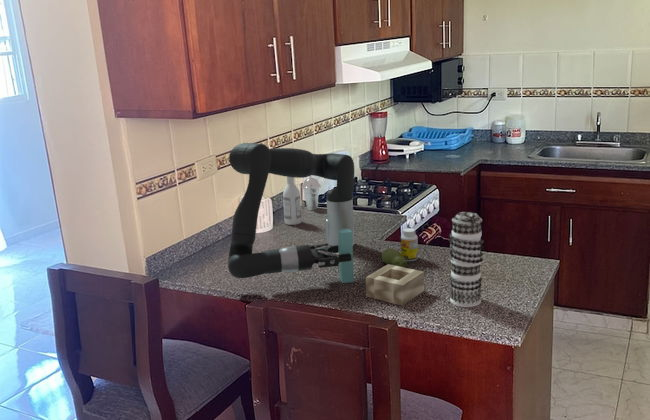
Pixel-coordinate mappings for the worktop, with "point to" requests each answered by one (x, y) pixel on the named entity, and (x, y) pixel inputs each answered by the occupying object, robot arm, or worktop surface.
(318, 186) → the cup with straw
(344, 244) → the peg
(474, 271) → the decorative candle
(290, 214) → the bath foam
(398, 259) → the pear
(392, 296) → the socket block
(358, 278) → the worktop surface
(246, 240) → the robot arm
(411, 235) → the supplement bottle
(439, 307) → the worktop surface
